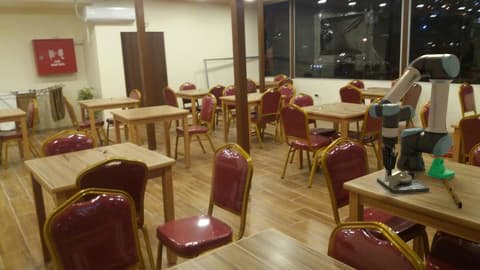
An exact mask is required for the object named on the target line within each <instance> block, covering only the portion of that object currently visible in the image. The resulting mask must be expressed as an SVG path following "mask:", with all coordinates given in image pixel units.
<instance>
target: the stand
mask: <svg viewBox="0 0 480 270" xmlns="http://www.w3.org/2000/svg"><path fill="white" fill-rule="evenodd" d="M400 172H401V171H400ZM401 174H408V175H411V176H412V182H411V183H400V184H398V185H396V186H394V187H392V188H391V187H389V182H385V176H382V177H381V176H380V177H376V182H378V184H380V185H381V186H382V187H383V188H385V189H386V190H388V191H389V192H390V193H391V194H392V195H402V194H403V195H405V194H416V193H419V194H420V193H429V192H430V189H431V188H430V187H429V186H427V185H426V184H425V183H423V182H422V181H419V180H418V179H416V172H415V171H402V172H401Z"/></svg>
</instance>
